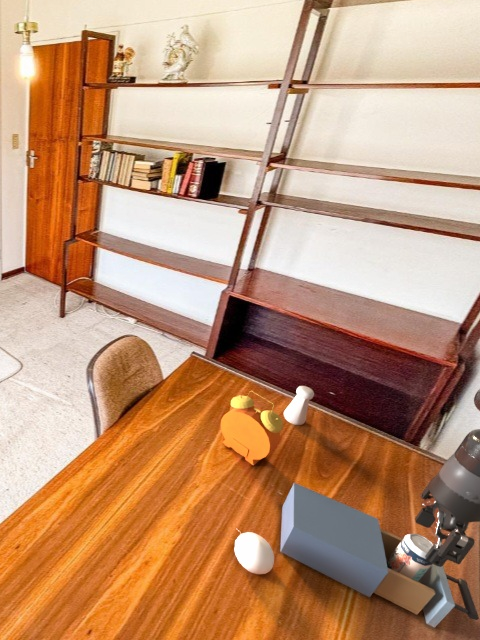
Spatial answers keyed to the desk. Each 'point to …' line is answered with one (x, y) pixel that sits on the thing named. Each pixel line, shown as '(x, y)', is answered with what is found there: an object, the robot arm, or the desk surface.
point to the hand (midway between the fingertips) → (426, 542)
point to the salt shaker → (299, 406)
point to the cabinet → (333, 539)
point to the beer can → (411, 557)
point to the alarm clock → (251, 429)
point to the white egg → (254, 553)
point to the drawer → (423, 589)
